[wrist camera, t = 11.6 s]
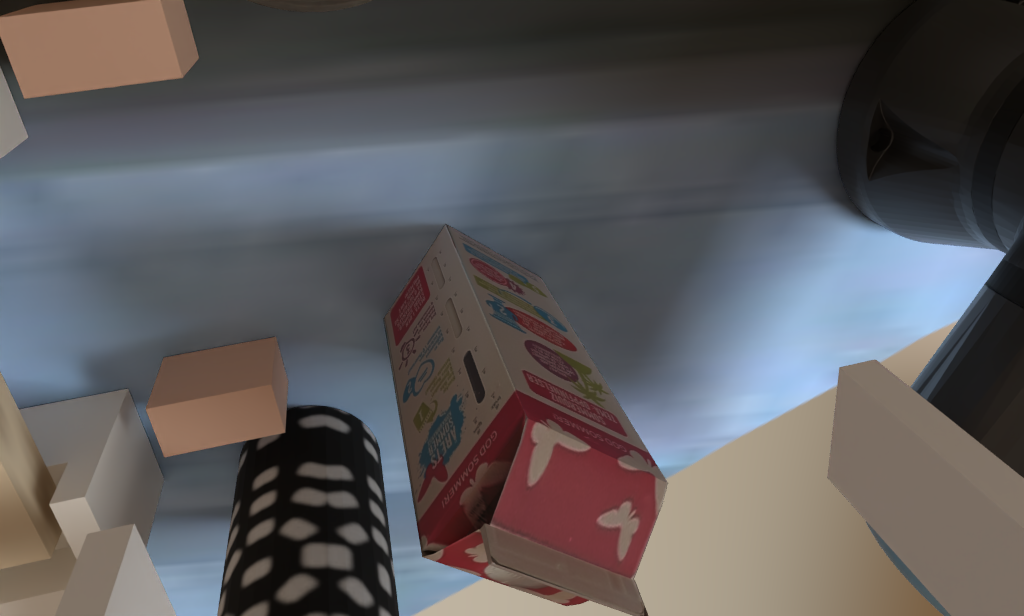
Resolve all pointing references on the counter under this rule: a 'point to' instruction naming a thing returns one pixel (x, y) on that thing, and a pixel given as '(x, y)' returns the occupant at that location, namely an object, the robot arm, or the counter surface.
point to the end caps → (79, 464)
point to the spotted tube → (310, 523)
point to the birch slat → (23, 491)
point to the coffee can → (310, 4)
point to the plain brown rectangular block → (132, 60)
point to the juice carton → (516, 434)
